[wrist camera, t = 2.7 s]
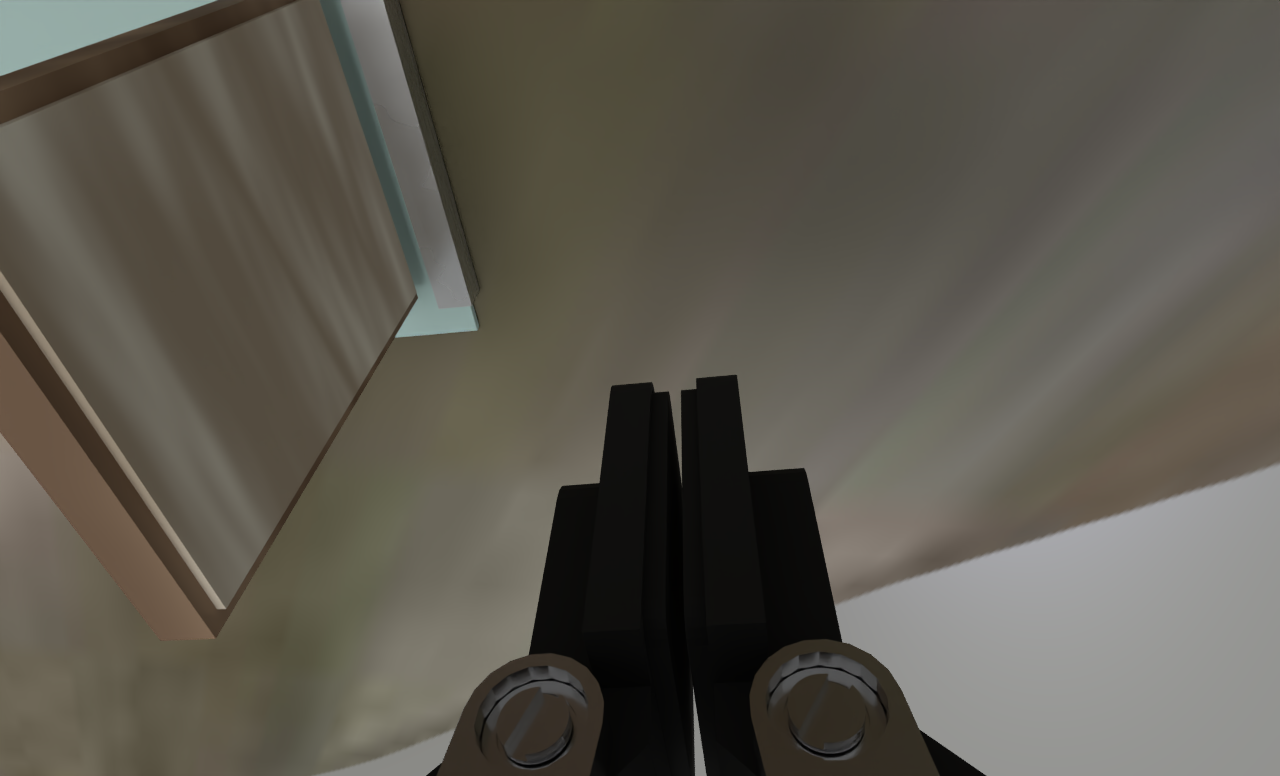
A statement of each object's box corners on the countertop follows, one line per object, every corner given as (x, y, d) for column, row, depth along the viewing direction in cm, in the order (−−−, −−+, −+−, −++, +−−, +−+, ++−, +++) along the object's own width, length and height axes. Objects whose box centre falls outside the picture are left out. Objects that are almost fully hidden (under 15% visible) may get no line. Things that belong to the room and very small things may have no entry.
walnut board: (317, -25, 21) (-120, 139, 10) (423, 297, 27) (225, 638, 15) (269, -18, 21) (-216, 151, 10) (385, 300, 27) (160, 640, 16)
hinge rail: (382, -60, 22) (367, -55, 21) (479, 289, 28) (472, 306, 27) (341, -54, 22) (324, -48, 21) (447, 292, 28) (438, 309, 27)
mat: (349, -121, 21) (345, -121, 21) (479, 326, 29) (477, 330, 29) (-282, -19, 23) (-292, -17, 23) (-1, 367, 31) (-6, 371, 31)
